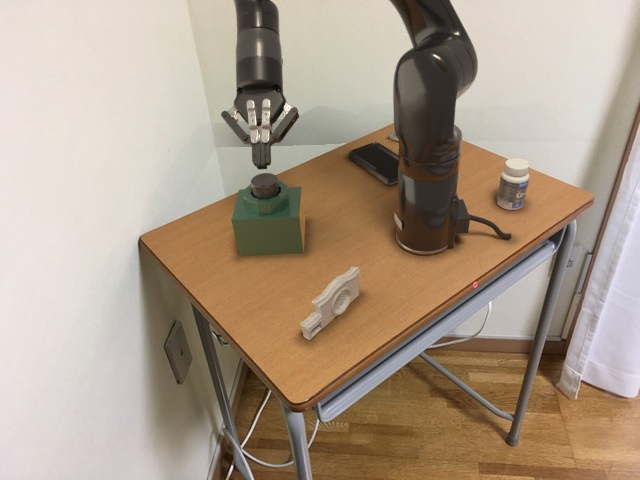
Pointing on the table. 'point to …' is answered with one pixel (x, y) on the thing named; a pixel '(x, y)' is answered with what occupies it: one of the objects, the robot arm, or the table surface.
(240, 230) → the dispenser
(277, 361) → the table surface
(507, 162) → the pill bottle
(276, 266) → the table surface
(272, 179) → the dark push button
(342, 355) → the table surface
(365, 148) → the phone
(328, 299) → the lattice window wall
